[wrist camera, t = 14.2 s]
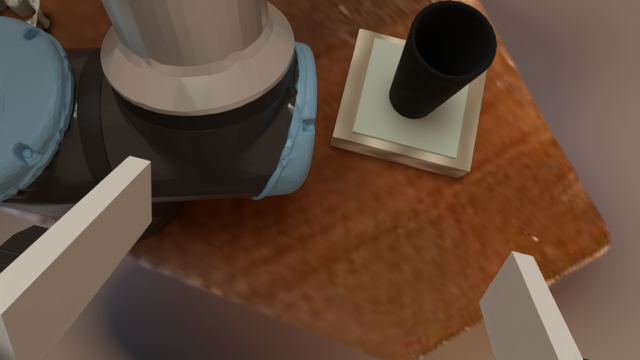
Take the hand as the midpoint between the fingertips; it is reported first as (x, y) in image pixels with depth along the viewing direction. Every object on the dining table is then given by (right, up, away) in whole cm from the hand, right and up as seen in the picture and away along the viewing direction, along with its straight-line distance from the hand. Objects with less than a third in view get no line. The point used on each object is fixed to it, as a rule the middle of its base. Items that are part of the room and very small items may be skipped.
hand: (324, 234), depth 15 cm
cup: (+11, +12, +32) cm, 35 cm away
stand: (+10, +11, +36) cm, 39 cm away
